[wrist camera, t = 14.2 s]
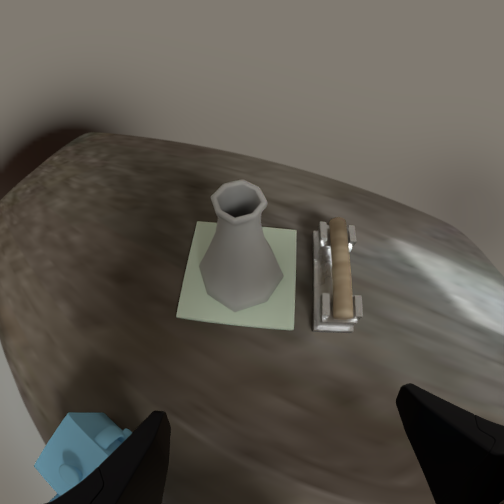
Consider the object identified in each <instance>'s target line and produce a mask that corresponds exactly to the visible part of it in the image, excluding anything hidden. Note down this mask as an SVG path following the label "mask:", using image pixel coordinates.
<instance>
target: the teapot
mask: <svg viewBox="0 0 504 504" xmlns="http://www.w3.org/2000/svg"><path fill="white" fill-rule="evenodd" d="M131 434H132V432H131V431H130V430H129V429H127V428H125V429H124V430H122V429H121V428H119V427H118V426H117V425H116V424H115V423H114V422H113V421H112V420H111V419H110V418H109V417H108V416H107V415H106V414H105V413H104V412H102V413H74V412H68V414H67V415H66V417H65V418H64V419H63V421H62V422H61V424H60V425H59V427H58V428H57V430H56V431H55V433H54V434H53V436H52V437H51V439H50V440H49V442H48V443H47V445H46V446H45V448H44V450H43V451H42V453H41V455H40V456H39V458H38V460H37V461H36V463H35V465H34V467H35V468H36V469H37V470H38V472H39V473H40V474H41V475H42V476H43V477H44V479H45V480H46V481H47V482H48V483H49V485H50V486H51V487H52V488H53V489H54V490H55V491H56V492H57V495H56V496H55V497H54V498H53V499H52V500H50V501H49V502H51V501H53V500H55V499H56V498H58V497H59V496H61V495H62V494H64V493H65V492H67V491H68V490H70V489H71V488H73V487H74V486H76V485H77V484H78V483H80V482H81V481H82V480H84V479H85V478H86V477H87V476H88V475H89V474H90V473H92V472H93V471H94V470H95V469H96V468H97V467H99V465H100V464H101V463H102V462H103V461H104V460H105V459H106V458H107V457H108V456H109V455H110V454H111V453H112V452H113V451H115V450H116V449H117V448H118V447H119V446H120V445H121V444H122V443H123V442H124V441H125V440H126V439H127V438H128V437H129V436H130V435H131ZM49 502H48V503H49Z"/></svg>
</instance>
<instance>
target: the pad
mask: <svg viewBox="0 0 504 504" xmlns="http://www.w3.org/2000/svg"><path fill="white" fill-rule="evenodd" d="M216 226H217V223H213V222H200V221H197V225H196V229H195V233H194V237H193V241H192V245H191V249H190V254H189V258H188V262H187V267H186V271H185V276H184V280H183V285H182V290H181V295H180V299H179V304H178V309H177V315H176V317H177V318H182V319H189V320H196V321H203V322H211V323H219V324H227V325H236V326H246V327H256V328H268V329H280V330H294V311H295V283H296V230H290V229H280V228H270V227H262V230H263V234H264V237H265V239H266V240H267V242H268V243H269V245H270V247H271V249H272V251H273V253H274V255H275V258H276V260H277V262H278V264H279V267H280V269H281V271H282V273H283V275H284V277H283V278H282V280H281V281H280V283H279V284H278V286H277V287H276V289H275V290H274V292H273V293H272V295H271V296H270V298H269V299H268V301H267V302H264V303H261V304H258V305H255V306H252V307H249V308H246V309H243V310H240V311H237V312H233V311H232V310H230V309H229V308H227V307H226V306H224V305H223V304H221V303H220V302H218V301H217V300H215V299H214V298H212V297H211V296H209V295H208V294H207V291H206V288H205V285H204V282H203V278H202V275H201V271H200V268H199V265H200V263H201V261H202V259H203V257H204V255H205V253H206V251H207V250H208V247H209V245H210V243H211V241H212V239H213V237H214V234H215V232H216Z"/></svg>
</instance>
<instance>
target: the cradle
mask: <svg viewBox="0 0 504 504" xmlns="http://www.w3.org/2000/svg"><path fill="white" fill-rule="evenodd" d="M347 236H348V245H349V253H350V251H351V250H352V246H354V245H355V243H356V242H357V241H356V234H355V226H354V225H348V227H347ZM312 243H313V325H312V331H313V332H337V333H352V332H353V331H354V329H353V326H354V325H355V324H356V323H357V319H360V318H362V317H363V310H362V296H359V295H355V296H353V295H352V298H353V318H351V319H347V320H336V319H334V318H333V284H332V260H331V243H330V229H329V225H326V222H321V221H320V223H319V226H318V231H313V233H312Z"/></svg>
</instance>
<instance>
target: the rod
mask: <svg viewBox="0 0 504 504" xmlns="http://www.w3.org/2000/svg"><path fill="white" fill-rule="evenodd" d="M329 229H330V243H331V260H332V284H333V318H334V319H336V320H347V319H351V318H353V298H352V281H351V267H350V256H349V245H348V236H347V227H346V221H345V219H343V218H340V217H336V218H333V219H331V220H330V221H329Z"/></svg>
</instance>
